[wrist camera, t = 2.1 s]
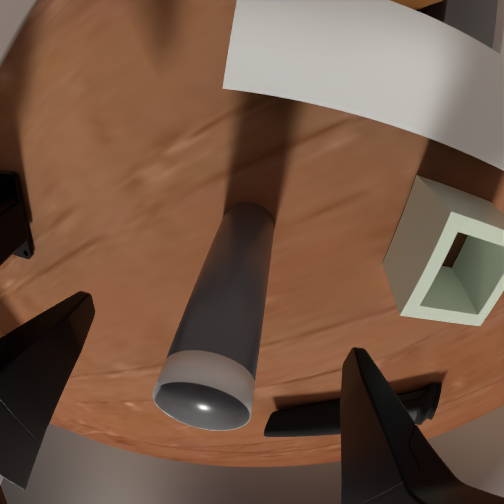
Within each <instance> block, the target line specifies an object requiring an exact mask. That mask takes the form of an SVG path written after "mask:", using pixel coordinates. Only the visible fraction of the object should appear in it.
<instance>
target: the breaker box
mask: <svg viewBox="0 0 504 504" xmlns="http://www.w3.org/2000/svg"><path fill="white" fill-rule="evenodd" d="M223 89H231V90H239V91H246V92H253V93H259V94H265V95H271V96H277V97H282V98H287V99H292V100H297V101H302V102H307V103H311V104H316V105H320V106H324V107H329V108H333V109H337V110H341V111H345V112H348V113H352V114H356V115H359V116H363V117H366V118H370V119H373V120H376V121H380V122H383V123H386V124H389V125H392V126H396V127H399V128H402V129H405V130H407V131H410V132H413V133H416V134H419V135H422V136H424V137H427V138H430V139H432V140H435V141H438V142H440V143H443V144H445V145H448V146H450V147H453V148H455V149H457V150H460V151H462V152H464V153H467V154H469V155H471V156H473V157H476V158H478V159H480V160H482V161H484V162H487V163H489V164H491V165H493V166H495V167H497V168H499V169H501V170H503V171H504V0H442V1H440V2H437V3H434V4H432V5H429V6H428V11H427V15H426V14H423V13H421V12H419V11H416V10H414V9H411V8H409V7H406V6H404V5H401V4H398V3H396V2H393V1H390V0H237V3H236V9H235V14H234V20H233V26H232V32H231V38H230V44H229V50H228V56H227V63H226V69H225V76H224V83H223Z"/></svg>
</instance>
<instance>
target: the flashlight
mask: <svg viewBox="0 0 504 504" xmlns="http://www.w3.org/2000/svg"><path fill="white" fill-rule="evenodd" d="M273 234H274V222H273V219H272V217H271V215H270V214H269V213H268V212H267V211H266V210H265V209H264V208H263V207H261V206H259V205H257V204H253V203H240V204H237V205H234V206H232V207H231V208H230V209H229V210H228V211H227V212H226V213H225V215H224V217H223V219H222V222H221V224H220V226H219V229H218V231H217V233H216V236H215V238H214V241H213V243H212V245H211V248H210V250H209V252H208V255H207V257H206V260H205V262H204V264H203V267H202V269H201V272H200V274H199V277H198V279H197V282H196V284H195V286H194V289H193V291H192V294H191V296H190V299H189V301H188V304H187V306H186V309H185V311H184V314H183V316H182V319H181V322H180V324H179V327H178V329H177V332H176V334H175V337H174V340H173V342H172V345H171V347H170V350H169V353H168V355H167V358H166V360H165V362H164V364H163V366H162V369H161V372H160V374H159V377H158V380H157V383H156V385H155V388H154V391H153V399H154V402H155V403H156V405H157V406H158V407H159V408H160V409H161V410H162V411H163V412H164V413H166V414H167V415H168V416H170V417H172V418H173V419H175V420H177V421H179V422H182V423H184V424H187V425H190V426H193V427H197V428H201V429H206V430H216V431H224V430H233V429H237V428H240V427H242V426H244V425H246V424H247V423H248V422H249V420H250V417H251V411H252V403H253V396H254V389H255V376H256V369H257V362H258V354H259V347H260V339H261V331H262V324H263V316H264V308H265V300H266V292H267V284H268V276H269V267H270V259H271V251H272V242H273Z"/></svg>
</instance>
